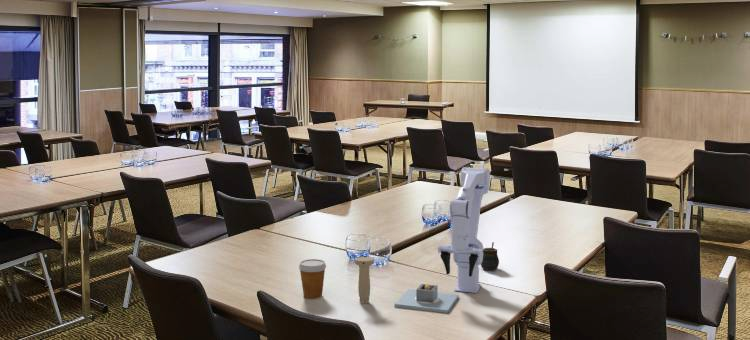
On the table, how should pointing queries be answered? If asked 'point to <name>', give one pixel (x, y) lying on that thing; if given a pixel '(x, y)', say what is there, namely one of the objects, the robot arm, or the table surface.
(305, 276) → the disposable coffee cup
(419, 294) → the hollow square tube
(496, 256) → the mate gourd
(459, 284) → the robot arm
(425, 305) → the board
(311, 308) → the table surface
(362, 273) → the handle
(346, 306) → the table surface
